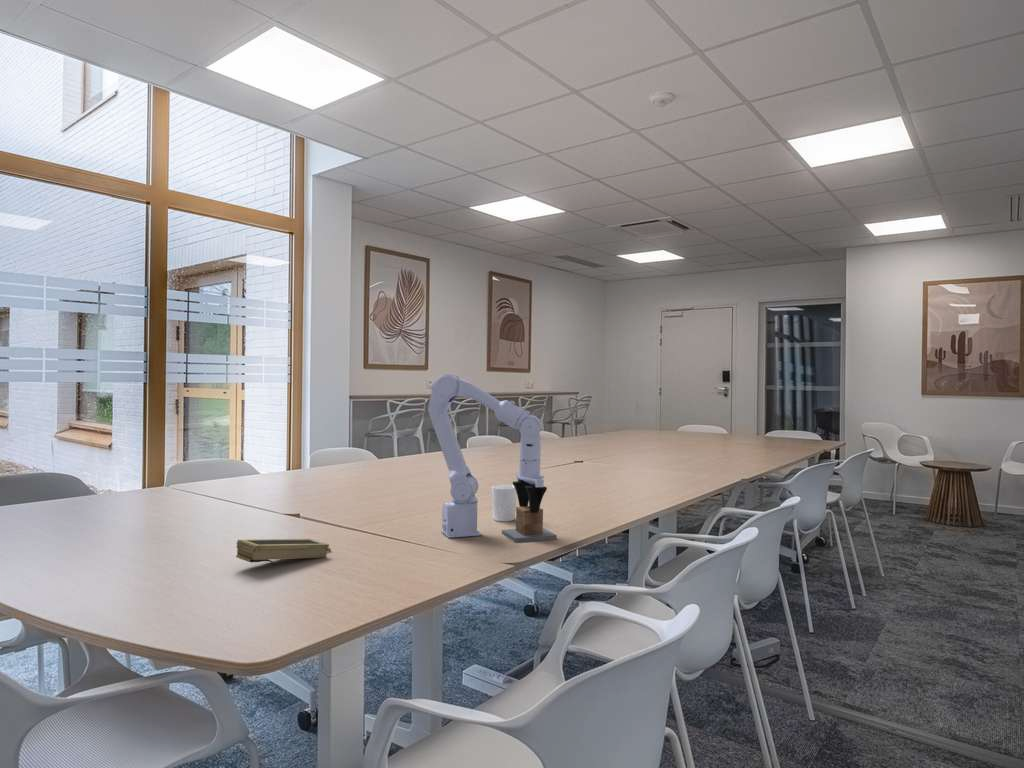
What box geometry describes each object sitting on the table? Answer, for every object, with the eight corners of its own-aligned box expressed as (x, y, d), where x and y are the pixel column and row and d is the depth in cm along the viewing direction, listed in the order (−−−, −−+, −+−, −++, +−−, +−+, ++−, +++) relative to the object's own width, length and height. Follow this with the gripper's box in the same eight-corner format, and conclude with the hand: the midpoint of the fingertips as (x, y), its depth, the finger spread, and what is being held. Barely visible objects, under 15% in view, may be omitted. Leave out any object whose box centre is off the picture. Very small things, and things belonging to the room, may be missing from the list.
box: (231, 562, 136) (235, 538, 136) (317, 558, 153) (321, 537, 154) (251, 570, 131) (256, 546, 131) (338, 564, 148) (342, 543, 149)
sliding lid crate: (523, 535, 165) (523, 510, 165) (515, 530, 170) (516, 506, 170) (542, 533, 167) (543, 509, 167) (534, 529, 172) (534, 505, 172)
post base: (515, 542, 162) (515, 523, 162) (501, 533, 171) (502, 515, 171) (556, 538, 166) (556, 520, 166) (541, 530, 176) (541, 512, 176)
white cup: (487, 521, 187) (488, 487, 187) (495, 515, 194) (496, 484, 194) (512, 523, 185) (513, 489, 185) (519, 517, 192) (520, 485, 192)
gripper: (554, 462, 163) (553, 514, 163) (532, 456, 177) (531, 504, 177) (529, 463, 161) (528, 515, 161) (509, 457, 174) (508, 505, 174)
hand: (528, 509), depth 169 cm, fingers open, 7 cm apart
